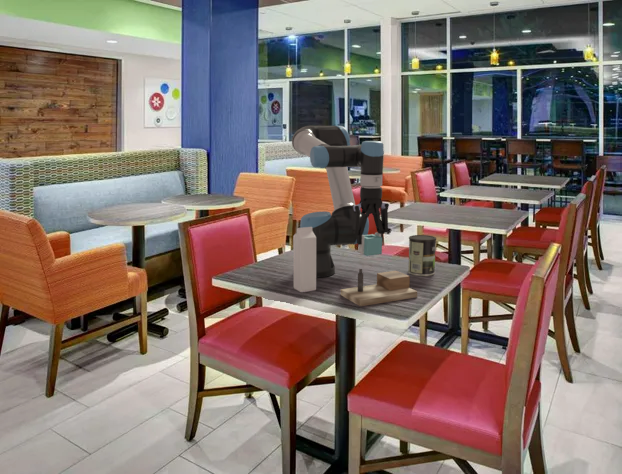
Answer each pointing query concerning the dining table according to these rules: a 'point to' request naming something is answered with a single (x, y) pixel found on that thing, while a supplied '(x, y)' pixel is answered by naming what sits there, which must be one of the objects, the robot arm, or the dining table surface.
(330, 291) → the dining table surface
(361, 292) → the base board
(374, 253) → the teal hollow cube
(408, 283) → the block
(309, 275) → the milk
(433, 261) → the coffee can
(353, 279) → the dining table surface
